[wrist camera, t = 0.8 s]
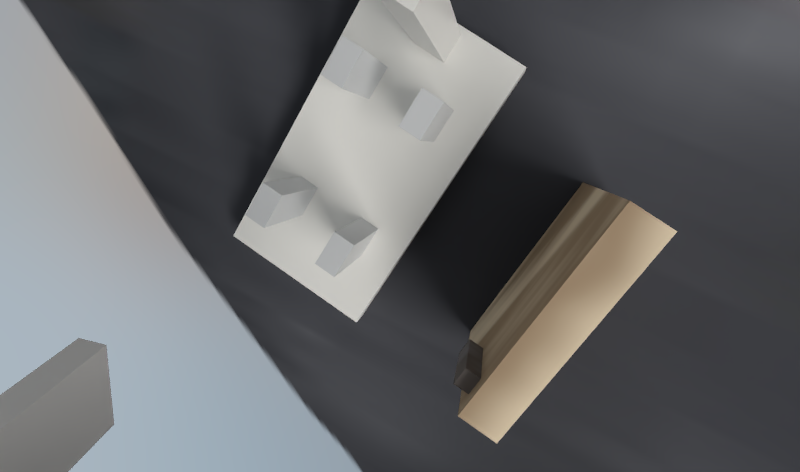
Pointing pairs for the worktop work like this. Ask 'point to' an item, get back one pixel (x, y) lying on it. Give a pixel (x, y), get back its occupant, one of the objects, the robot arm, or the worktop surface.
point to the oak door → (553, 305)
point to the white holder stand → (376, 147)
